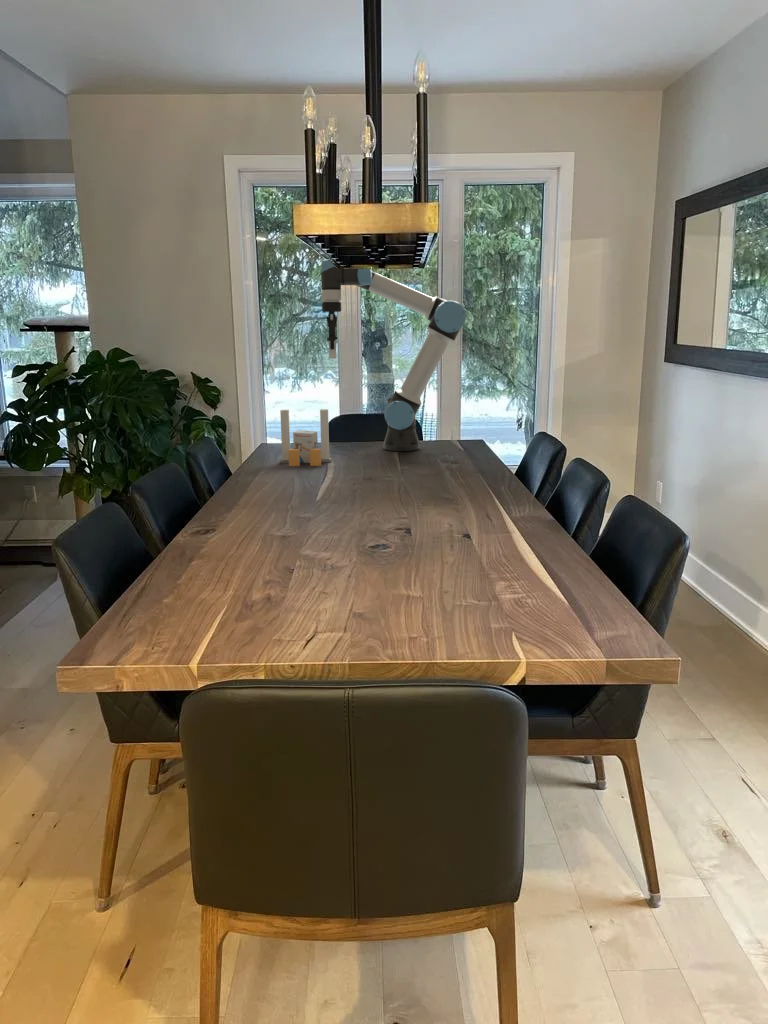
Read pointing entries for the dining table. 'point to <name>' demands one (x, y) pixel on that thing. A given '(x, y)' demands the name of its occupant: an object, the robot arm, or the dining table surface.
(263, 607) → the dining table surface
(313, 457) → the paddle
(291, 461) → the paddle
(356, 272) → the robot arm
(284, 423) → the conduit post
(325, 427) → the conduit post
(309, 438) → the ink box
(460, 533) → the dining table surface
